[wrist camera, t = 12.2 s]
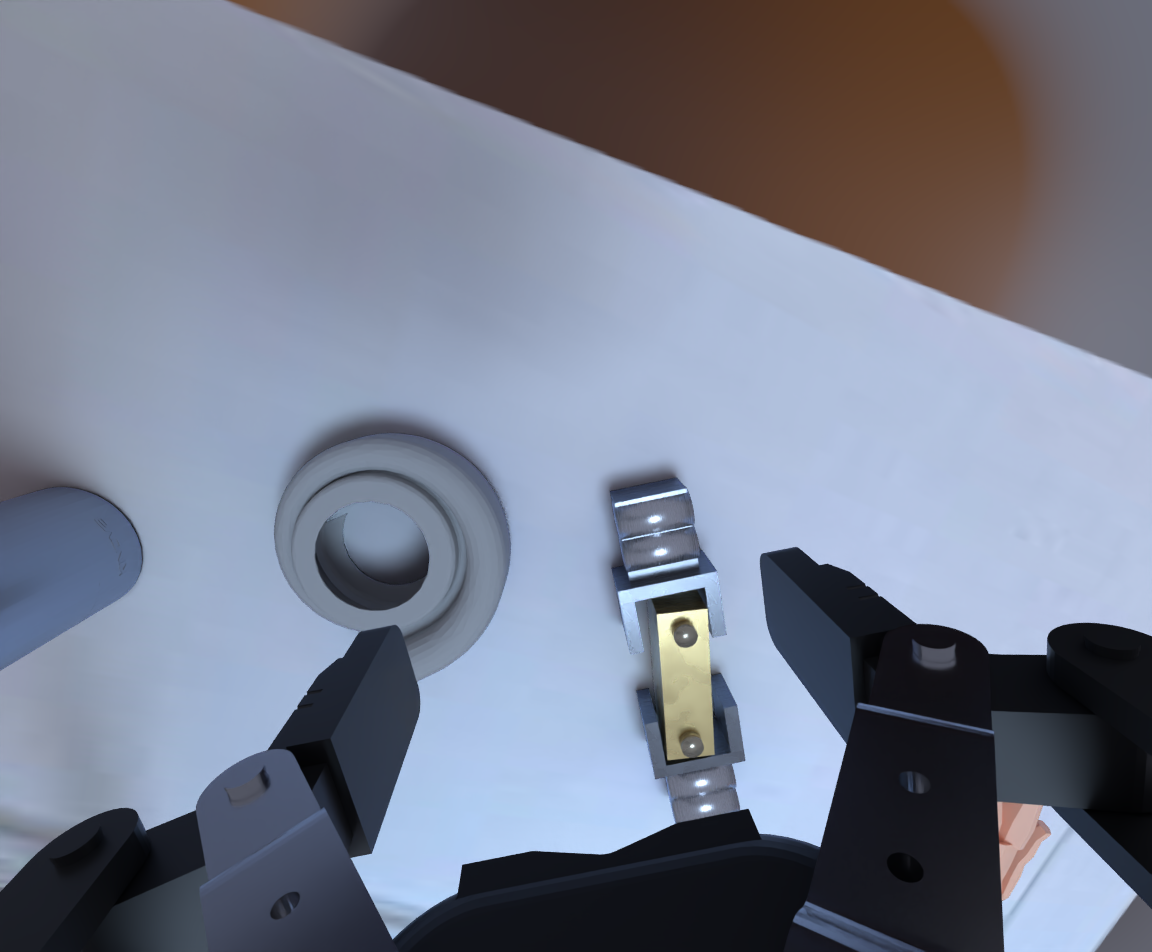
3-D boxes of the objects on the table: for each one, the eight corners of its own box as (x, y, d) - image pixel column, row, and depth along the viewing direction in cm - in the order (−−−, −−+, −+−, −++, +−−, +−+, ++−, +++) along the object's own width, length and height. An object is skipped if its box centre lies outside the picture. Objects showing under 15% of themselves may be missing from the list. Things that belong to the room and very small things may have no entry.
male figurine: (1111, 729, 44) (1019, 989, 48) (1054, 694, 49) (975, 932, 53) (987, 712, 43) (903, 979, 47) (942, 678, 48) (869, 922, 52)
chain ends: (658, 799, 47) (667, 840, 44) (596, 494, 40) (601, 510, 36) (737, 783, 47) (754, 822, 43) (690, 474, 40) (705, 489, 36)
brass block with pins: (655, 715, 46) (670, 768, 40) (645, 582, 43) (659, 620, 37) (697, 710, 46) (717, 762, 40) (689, 577, 43) (710, 614, 37)
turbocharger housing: (445, 392, 40) (268, 485, 41) (421, 395, 33) (211, 506, 34) (554, 590, 42) (386, 672, 43) (551, 628, 36) (354, 724, 37)
